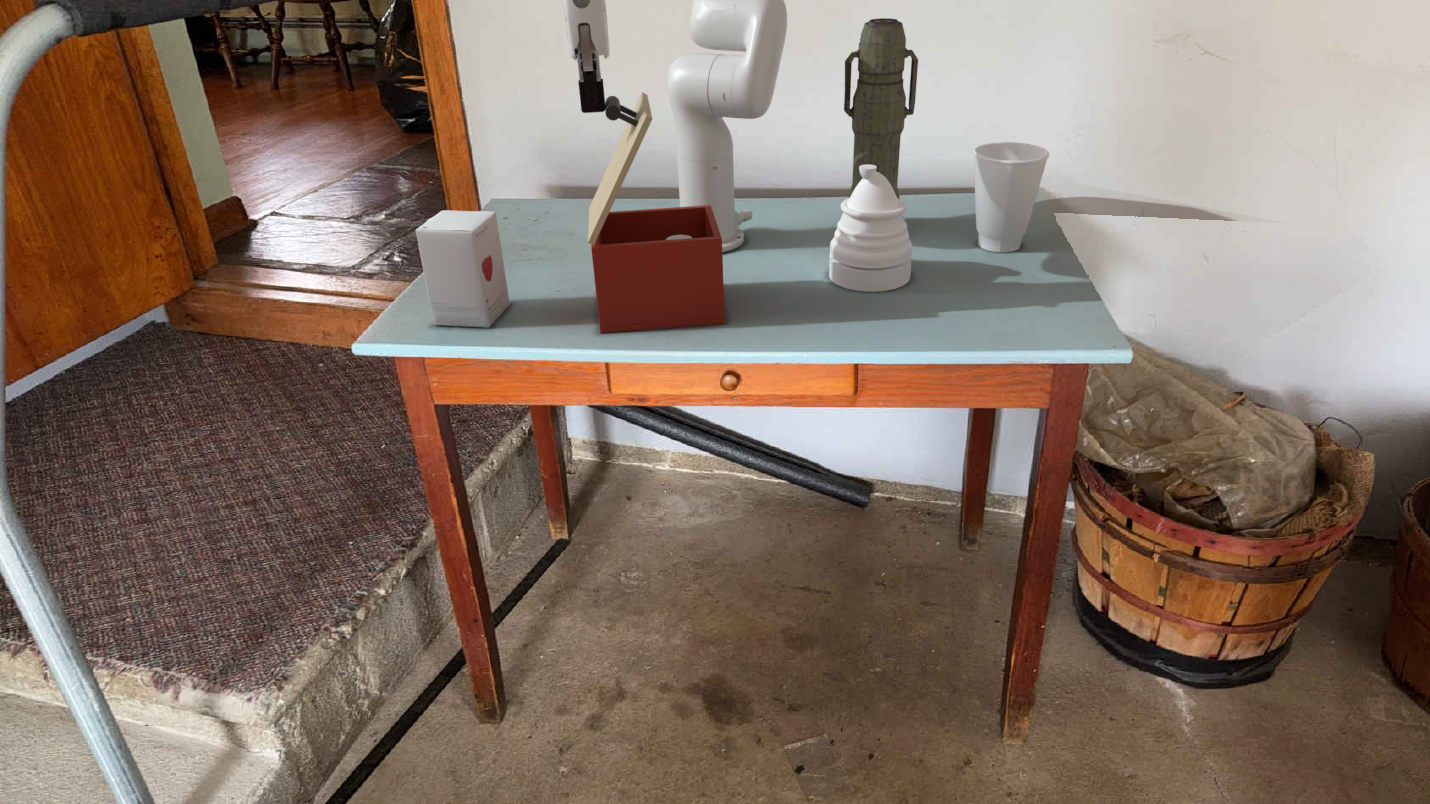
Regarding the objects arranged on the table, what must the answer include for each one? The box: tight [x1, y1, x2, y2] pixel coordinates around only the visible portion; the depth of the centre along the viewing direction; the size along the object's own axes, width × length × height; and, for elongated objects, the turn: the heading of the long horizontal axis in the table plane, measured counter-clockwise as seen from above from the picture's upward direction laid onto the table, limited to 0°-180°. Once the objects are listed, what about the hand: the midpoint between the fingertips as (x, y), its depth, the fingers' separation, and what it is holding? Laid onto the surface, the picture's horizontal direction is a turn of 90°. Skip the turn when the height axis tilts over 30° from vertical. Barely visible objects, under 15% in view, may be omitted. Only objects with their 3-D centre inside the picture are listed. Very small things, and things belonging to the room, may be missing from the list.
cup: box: [972, 141, 1050, 253], centre depth 154 cm, size 12×12×16 cm
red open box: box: [590, 205, 726, 334], centre depth 137 cm, size 18×15×13 cm
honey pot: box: [828, 164, 913, 293], centre depth 143 cm, size 13×13×18 cm
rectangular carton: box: [415, 209, 510, 329], centre depth 136 cm, size 9×9×15 cm
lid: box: [587, 91, 653, 245], centre depth 128 cm, size 19×15×5 cm
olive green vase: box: [843, 17, 919, 200], centre depth 159 cm, size 9×12×35 cm
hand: (593, 110), depth 125 cm, fingers closed
